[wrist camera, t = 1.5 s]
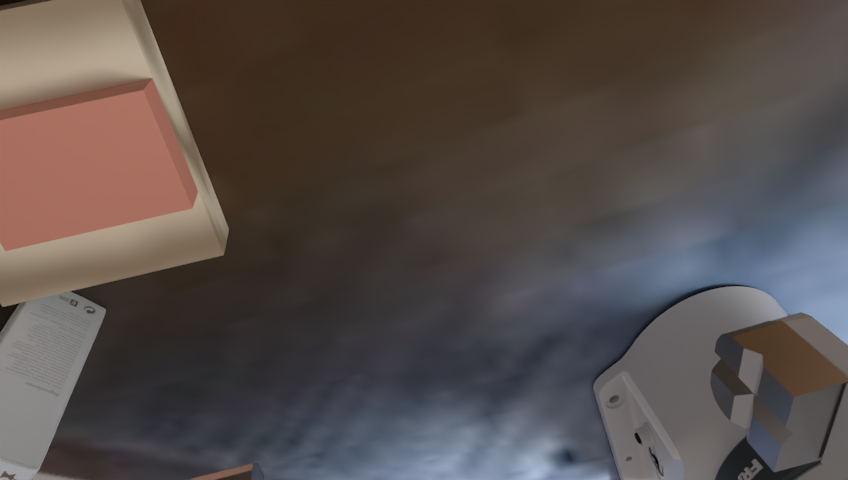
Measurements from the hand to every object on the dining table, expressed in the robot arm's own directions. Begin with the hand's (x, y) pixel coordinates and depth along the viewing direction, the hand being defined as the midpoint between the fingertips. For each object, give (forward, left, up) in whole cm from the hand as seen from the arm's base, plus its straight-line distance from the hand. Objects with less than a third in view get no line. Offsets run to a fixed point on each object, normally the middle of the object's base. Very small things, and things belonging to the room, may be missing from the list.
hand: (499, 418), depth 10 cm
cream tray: (-1, +16, -26) cm, 30 cm away
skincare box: (-12, +22, -26) cm, 36 cm away
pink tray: (-1, +14, -23) cm, 27 cm away
